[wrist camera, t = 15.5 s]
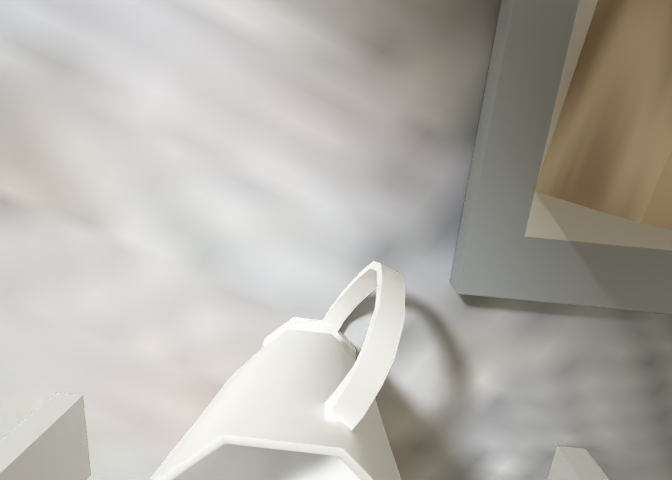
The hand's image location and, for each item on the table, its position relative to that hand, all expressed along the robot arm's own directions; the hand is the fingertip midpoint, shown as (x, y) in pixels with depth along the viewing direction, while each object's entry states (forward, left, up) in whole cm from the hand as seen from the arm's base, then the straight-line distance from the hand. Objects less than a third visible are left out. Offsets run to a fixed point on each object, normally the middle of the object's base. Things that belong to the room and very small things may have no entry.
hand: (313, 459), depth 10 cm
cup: (0, 0, -7) cm, 7 cm away
